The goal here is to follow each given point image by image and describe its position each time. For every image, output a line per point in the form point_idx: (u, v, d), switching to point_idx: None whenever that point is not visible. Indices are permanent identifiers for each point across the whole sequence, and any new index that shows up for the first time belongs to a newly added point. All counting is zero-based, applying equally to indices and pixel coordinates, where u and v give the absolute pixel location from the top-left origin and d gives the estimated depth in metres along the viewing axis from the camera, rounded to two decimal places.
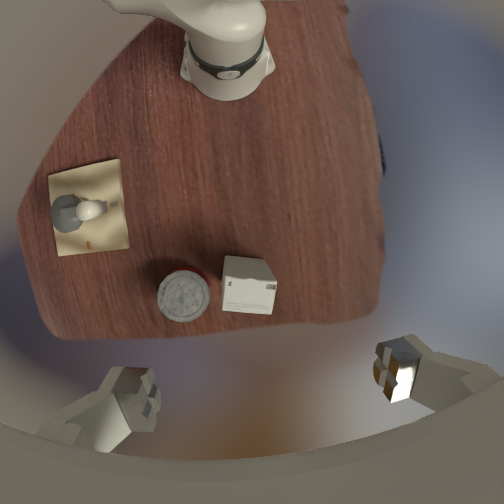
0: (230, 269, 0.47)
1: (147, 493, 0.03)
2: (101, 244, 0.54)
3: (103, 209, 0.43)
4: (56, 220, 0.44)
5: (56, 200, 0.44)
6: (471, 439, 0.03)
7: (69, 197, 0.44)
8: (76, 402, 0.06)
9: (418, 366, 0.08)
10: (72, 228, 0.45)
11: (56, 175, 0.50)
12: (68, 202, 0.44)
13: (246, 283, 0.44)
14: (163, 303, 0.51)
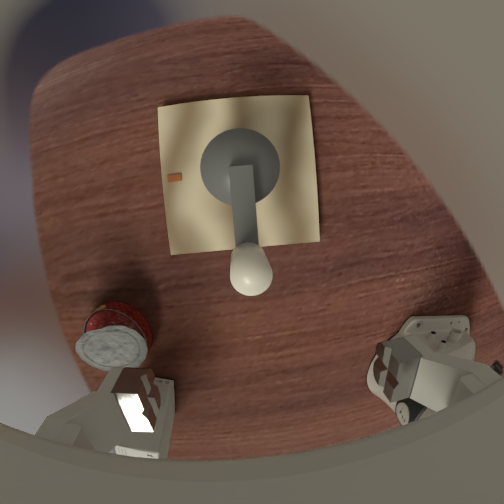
0: (163, 434, 0.30)
1: (147, 493, 0.03)
2: (176, 205, 0.33)
3: None
4: (228, 144, 0.24)
5: (270, 147, 0.24)
6: (471, 439, 0.03)
7: (273, 183, 0.25)
8: (76, 402, 0.06)
9: (418, 366, 0.08)
10: (209, 186, 0.25)
11: (307, 114, 0.31)
12: (263, 180, 0.25)
13: None
14: (95, 333, 0.30)
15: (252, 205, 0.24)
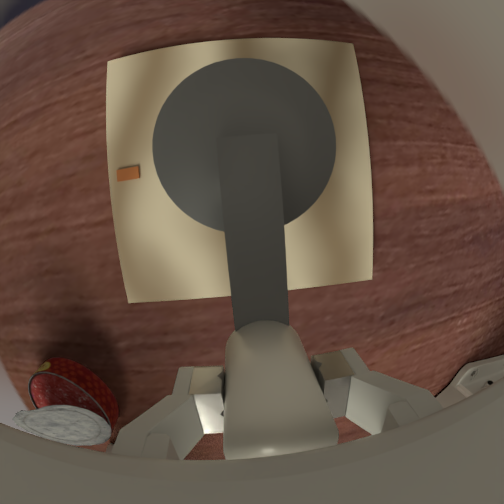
0: None
1: (147, 493, 0.03)
2: (132, 220, 0.18)
3: None
4: (218, 91, 0.10)
5: (314, 101, 0.10)
6: (471, 439, 0.03)
7: (322, 180, 0.11)
8: (151, 409, 0.07)
9: (351, 384, 0.08)
10: (172, 188, 0.10)
11: (353, 70, 0.17)
12: (300, 172, 0.11)
13: None
14: (33, 412, 0.15)
15: (276, 235, 0.10)
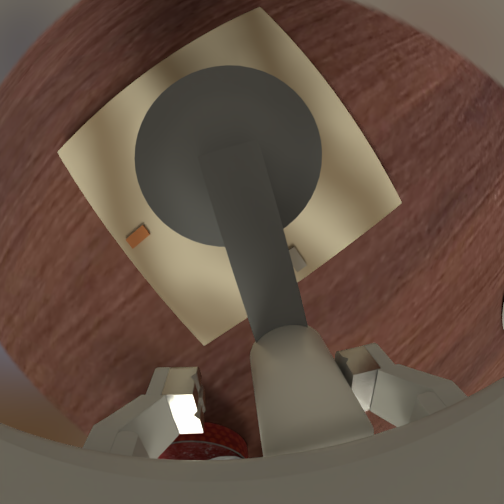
0: None
1: (147, 493, 0.03)
2: (165, 274, 0.19)
3: None
4: (190, 107, 0.10)
5: (289, 97, 0.10)
6: (471, 439, 0.03)
7: (313, 176, 0.10)
8: (125, 407, 0.07)
9: (377, 378, 0.08)
10: (165, 214, 0.10)
11: (275, 30, 0.16)
12: (289, 172, 0.10)
13: None
14: None
15: (278, 241, 0.10)
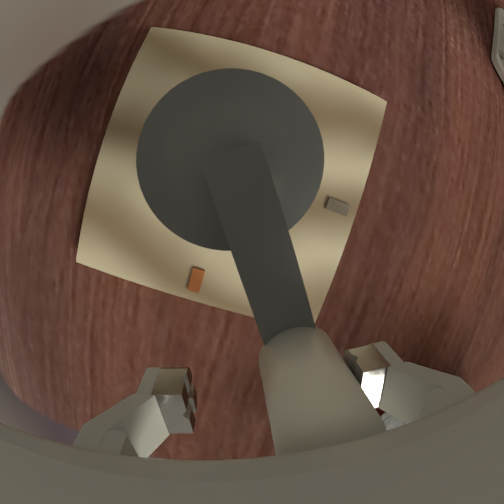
0: None
1: (147, 493, 0.03)
2: (241, 294, 0.20)
3: None
4: (191, 111, 0.10)
5: (290, 98, 0.10)
6: (471, 439, 0.03)
7: (316, 176, 0.10)
8: (115, 406, 0.07)
9: (386, 376, 0.08)
10: (169, 219, 0.10)
11: (180, 35, 0.15)
12: (292, 174, 0.10)
13: None
14: None
15: (283, 243, 0.10)
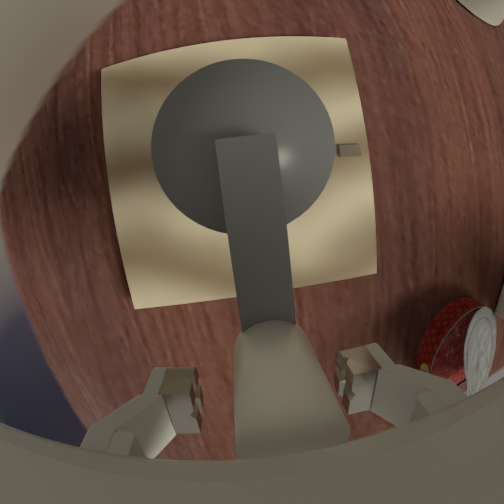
0: None
1: (147, 493, 0.03)
2: (300, 267, 0.20)
3: None
4: (215, 93, 0.10)
5: (311, 99, 0.10)
6: (471, 439, 0.03)
7: (323, 178, 0.11)
8: (122, 407, 0.07)
9: (377, 378, 0.08)
10: (173, 192, 0.10)
11: (132, 64, 0.16)
12: (300, 171, 0.10)
13: None
14: (467, 384, 0.17)
15: (279, 235, 0.10)
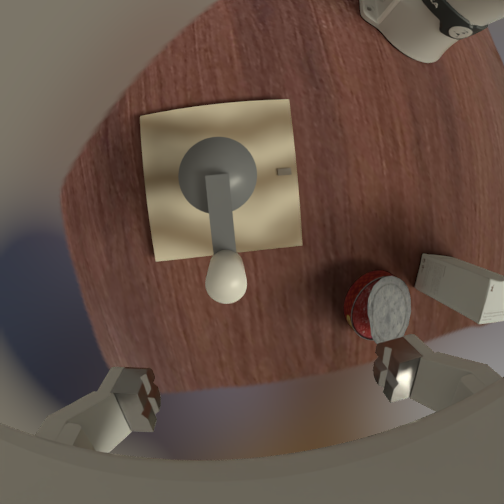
0: (473, 270, 0.28)
1: (147, 493, 0.03)
2: (253, 239, 0.35)
3: None
4: (205, 153, 0.24)
5: (247, 155, 0.25)
6: (471, 439, 0.03)
7: (251, 190, 0.25)
8: (76, 402, 0.06)
9: (418, 366, 0.08)
10: (187, 195, 0.25)
11: (159, 115, 0.30)
12: (241, 187, 0.25)
13: (502, 286, 0.25)
14: (373, 327, 0.32)
15: (229, 213, 0.25)
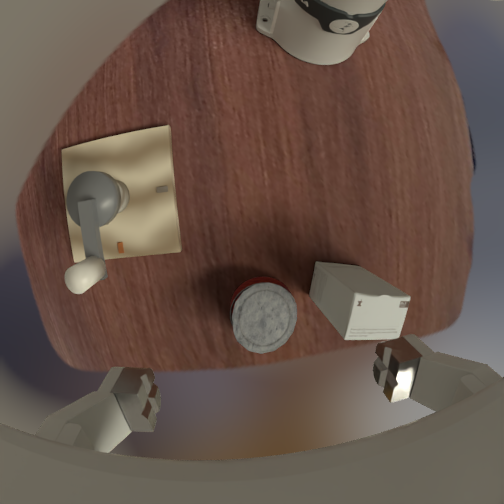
0: (347, 282, 0.33)
1: (147, 493, 0.03)
2: (140, 246, 0.40)
3: None
4: (81, 184, 0.30)
5: (107, 184, 0.30)
6: (471, 439, 0.03)
7: (110, 211, 0.31)
8: (76, 402, 0.06)
9: (418, 366, 0.08)
10: (72, 215, 0.30)
11: (74, 148, 0.36)
12: (104, 209, 0.30)
13: (379, 301, 0.29)
14: (240, 329, 0.37)
15: (93, 229, 0.30)
